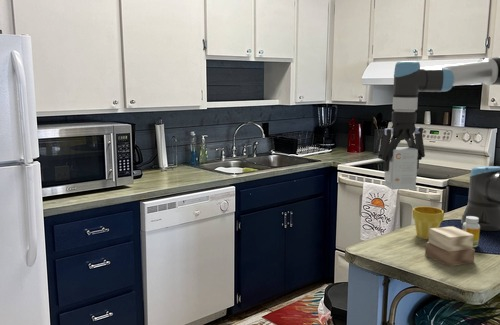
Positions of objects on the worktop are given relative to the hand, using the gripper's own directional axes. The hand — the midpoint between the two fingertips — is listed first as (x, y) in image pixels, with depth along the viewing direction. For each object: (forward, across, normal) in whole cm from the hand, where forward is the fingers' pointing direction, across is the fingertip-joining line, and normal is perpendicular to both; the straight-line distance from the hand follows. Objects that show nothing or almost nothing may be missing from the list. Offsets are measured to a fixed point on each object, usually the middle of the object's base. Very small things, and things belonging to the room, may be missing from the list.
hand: (400, 179), depth 160 cm
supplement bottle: (+23, -24, +7) cm, 34 cm away
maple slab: (+19, -9, +15) cm, 25 cm away
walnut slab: (+23, -9, +15) cm, 29 cm away
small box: (+3, 0, 0) cm, 3 cm away
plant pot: (+23, -16, -5) cm, 29 cm away
